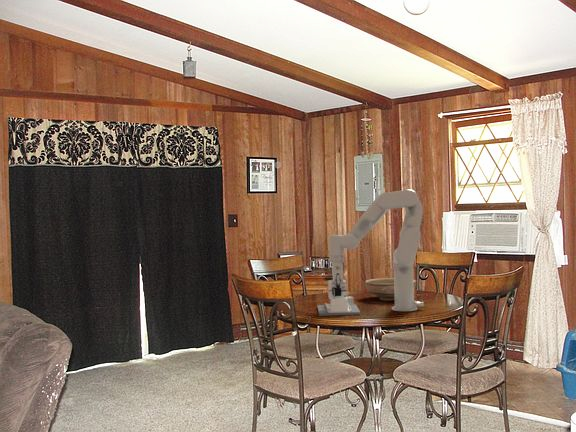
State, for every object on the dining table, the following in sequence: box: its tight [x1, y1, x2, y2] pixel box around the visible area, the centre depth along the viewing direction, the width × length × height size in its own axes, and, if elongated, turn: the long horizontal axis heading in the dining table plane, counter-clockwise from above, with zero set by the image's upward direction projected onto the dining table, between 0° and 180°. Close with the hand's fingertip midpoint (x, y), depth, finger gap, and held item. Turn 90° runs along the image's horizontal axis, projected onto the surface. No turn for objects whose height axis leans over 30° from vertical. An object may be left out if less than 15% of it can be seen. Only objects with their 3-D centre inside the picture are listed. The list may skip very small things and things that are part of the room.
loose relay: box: [347, 295, 355, 304], centre depth 343 cm, size 4×4×4 cm
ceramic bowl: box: [364, 277, 417, 301], centre depth 359 cm, size 37×29×10 cm
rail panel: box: [317, 296, 361, 317], centre depth 322 cm, size 20×25×8 cm
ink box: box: [327, 279, 348, 304], centre depth 322 cm, size 9×5×12 cm, turn 99°
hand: (337, 294), depth 322 cm, fingers closed on ink box, 5 cm apart
